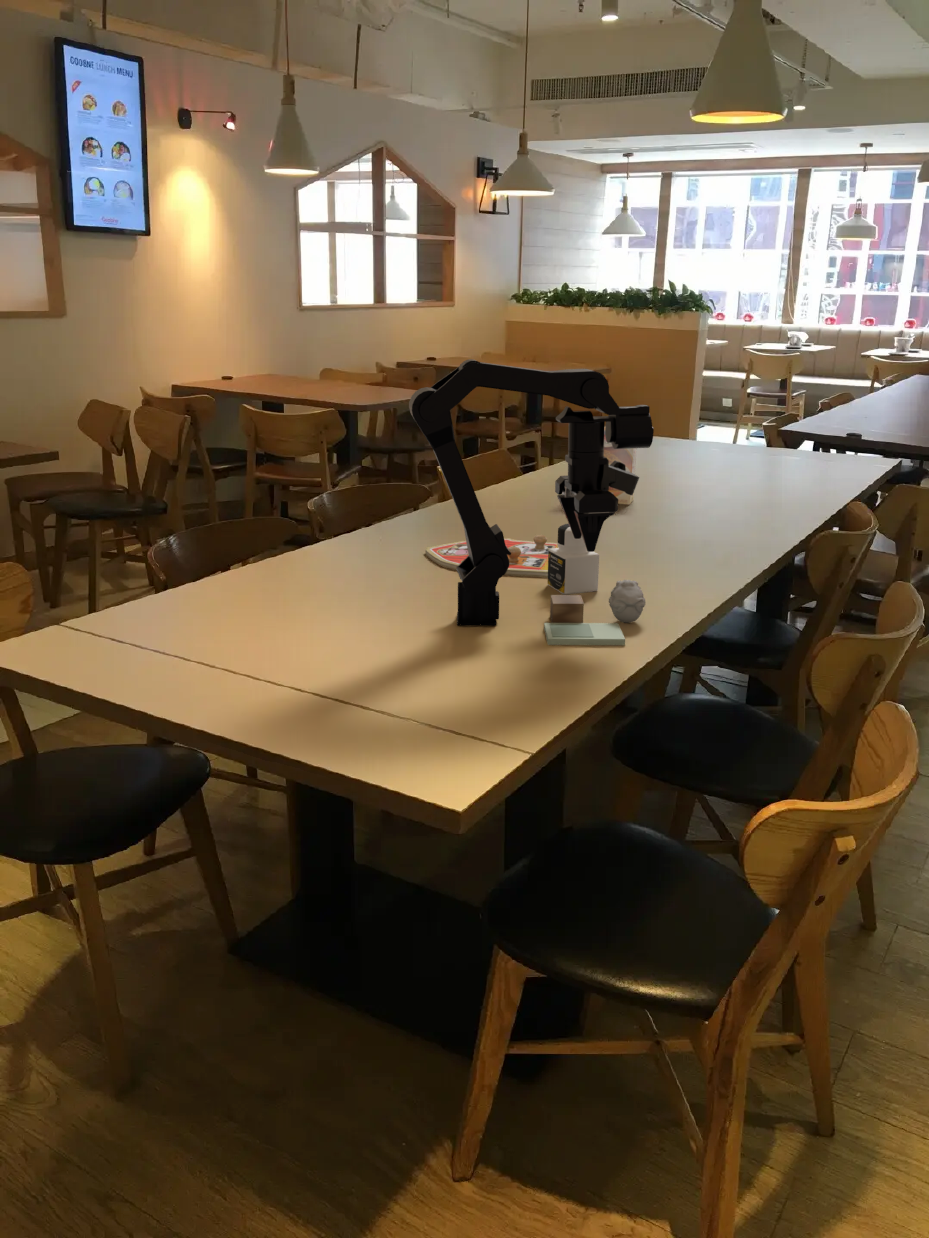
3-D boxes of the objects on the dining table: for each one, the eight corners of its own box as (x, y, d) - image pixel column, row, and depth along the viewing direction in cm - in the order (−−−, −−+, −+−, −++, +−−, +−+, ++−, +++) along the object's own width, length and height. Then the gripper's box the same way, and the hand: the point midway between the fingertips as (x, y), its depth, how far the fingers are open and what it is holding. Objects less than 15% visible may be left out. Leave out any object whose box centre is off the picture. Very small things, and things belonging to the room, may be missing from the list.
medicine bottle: (546, 585, 186) (548, 522, 182) (580, 581, 188) (583, 520, 185) (563, 595, 180) (565, 530, 176) (598, 591, 182) (601, 527, 178)
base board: (547, 644, 154) (547, 638, 153) (544, 628, 161) (544, 622, 161) (624, 645, 154) (625, 638, 153) (617, 628, 161) (617, 622, 161)
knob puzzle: (556, 582, 190) (557, 560, 188) (407, 573, 195) (407, 551, 194) (571, 547, 217) (572, 527, 216) (440, 541, 223) (440, 521, 221)
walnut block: (552, 626, 163) (553, 603, 161) (550, 617, 167) (550, 595, 166) (582, 627, 163) (583, 603, 161) (579, 617, 167) (580, 595, 166)
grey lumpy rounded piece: (639, 615, 168) (642, 575, 166) (648, 628, 162) (651, 587, 160) (604, 615, 168) (606, 575, 166) (611, 628, 162) (613, 587, 159)
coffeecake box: (574, 501, 264) (576, 428, 258) (579, 497, 270) (581, 425, 264) (630, 505, 260) (634, 430, 254) (634, 500, 266) (638, 427, 260)
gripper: (652, 457, 151) (648, 556, 155) (619, 440, 168) (616, 530, 173) (580, 459, 149) (578, 559, 154) (555, 442, 167) (554, 533, 172)
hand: (584, 544), depth 163 cm, fingers open, 9 cm apart
